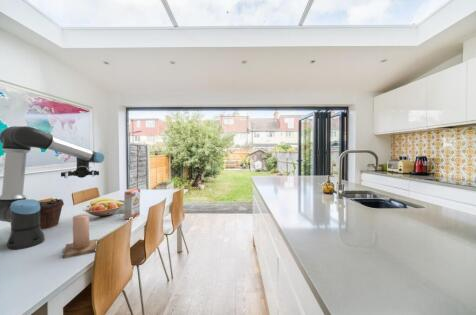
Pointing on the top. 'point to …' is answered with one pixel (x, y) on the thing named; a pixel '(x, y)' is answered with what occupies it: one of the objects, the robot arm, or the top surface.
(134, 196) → the cracker box
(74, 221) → the terracotta canister
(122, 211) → the grey carved relief
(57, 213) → the brown tapered bucket
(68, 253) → the cutting board
